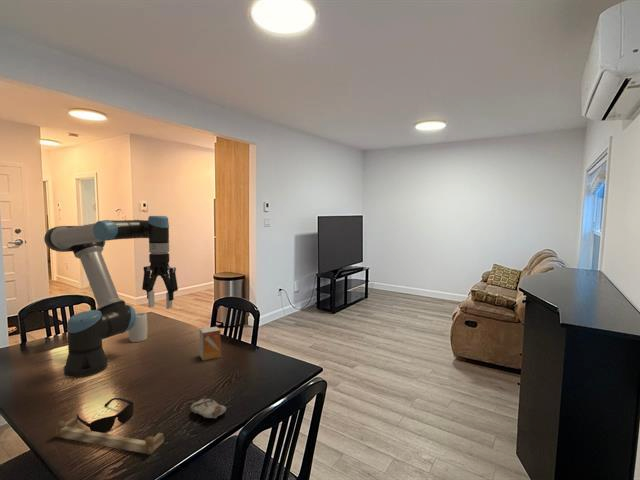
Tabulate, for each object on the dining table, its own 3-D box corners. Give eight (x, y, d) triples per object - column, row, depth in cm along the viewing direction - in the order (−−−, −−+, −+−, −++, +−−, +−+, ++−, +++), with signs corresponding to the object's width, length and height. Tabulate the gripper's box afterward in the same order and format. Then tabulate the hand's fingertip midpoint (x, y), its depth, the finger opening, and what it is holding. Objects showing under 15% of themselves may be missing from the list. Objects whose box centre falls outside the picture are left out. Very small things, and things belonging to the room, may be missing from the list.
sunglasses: (94, 440, 100) (93, 424, 99) (67, 423, 108) (66, 408, 107) (138, 417, 112) (138, 402, 111) (111, 403, 119) (111, 389, 119)
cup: (142, 344, 173) (141, 317, 172) (125, 344, 173) (124, 316, 172) (150, 338, 181) (150, 312, 180) (135, 338, 181) (134, 312, 180)
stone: (184, 412, 113) (184, 402, 113) (207, 402, 120) (207, 392, 120) (208, 424, 106) (208, 414, 106) (230, 412, 114) (231, 402, 114)
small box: (203, 361, 154) (202, 332, 153) (199, 356, 159) (199, 329, 158) (220, 357, 159) (220, 329, 158) (216, 352, 164) (216, 326, 163)
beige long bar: (55, 437, 101) (54, 424, 100) (73, 425, 106) (72, 413, 106) (150, 455, 93) (150, 441, 93) (164, 441, 99) (164, 428, 99)
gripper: (131, 253, 139) (132, 308, 141) (175, 255, 135) (176, 311, 136) (144, 251, 147) (145, 303, 148) (187, 253, 142) (187, 306, 144)
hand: (160, 307), depth 142 cm, fingers open, 8 cm apart
